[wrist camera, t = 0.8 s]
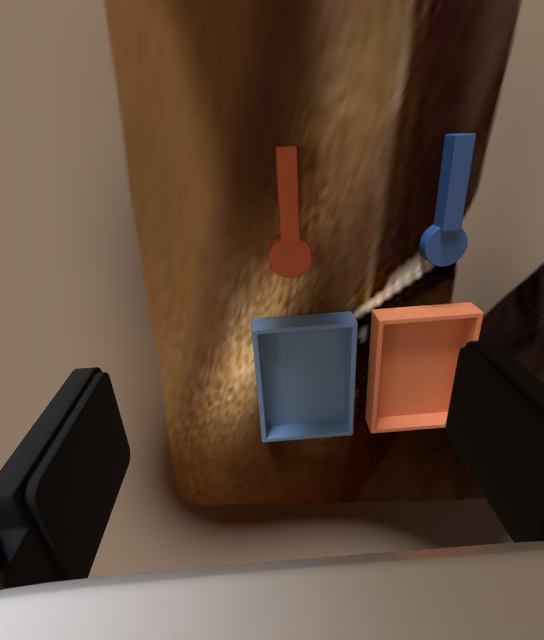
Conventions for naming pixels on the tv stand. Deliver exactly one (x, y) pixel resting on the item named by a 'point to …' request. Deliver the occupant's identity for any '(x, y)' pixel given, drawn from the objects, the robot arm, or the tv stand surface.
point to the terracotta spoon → (288, 218)
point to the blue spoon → (450, 203)
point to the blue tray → (305, 375)
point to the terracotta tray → (416, 363)
